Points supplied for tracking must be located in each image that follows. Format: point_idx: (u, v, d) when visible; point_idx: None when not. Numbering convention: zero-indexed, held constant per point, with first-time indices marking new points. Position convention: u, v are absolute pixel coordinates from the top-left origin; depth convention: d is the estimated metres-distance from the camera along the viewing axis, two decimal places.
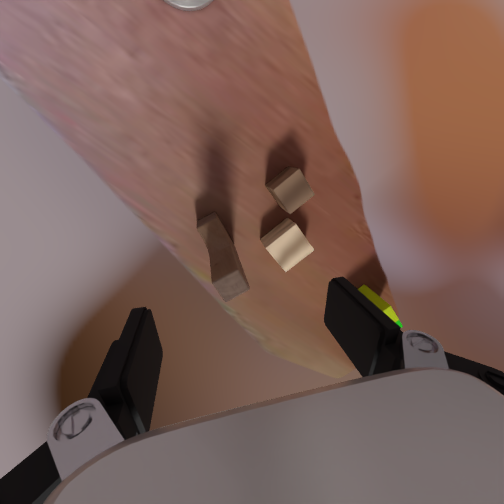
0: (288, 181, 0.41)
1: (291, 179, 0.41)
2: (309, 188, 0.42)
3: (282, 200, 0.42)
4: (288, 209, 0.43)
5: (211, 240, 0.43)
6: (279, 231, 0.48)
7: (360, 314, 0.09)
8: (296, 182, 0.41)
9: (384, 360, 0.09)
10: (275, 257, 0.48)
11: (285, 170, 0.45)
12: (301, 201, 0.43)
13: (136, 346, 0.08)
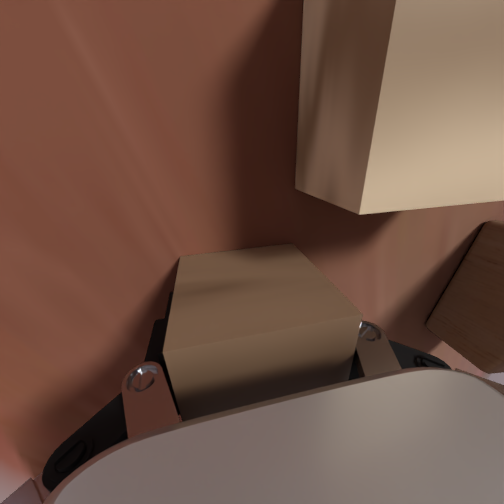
0: None
1: None
2: (183, 390, 0.07)
3: None
4: (350, 339, 0.07)
5: None
6: None
7: None
8: None
9: None
10: None
11: None
12: (266, 349, 0.07)
13: None
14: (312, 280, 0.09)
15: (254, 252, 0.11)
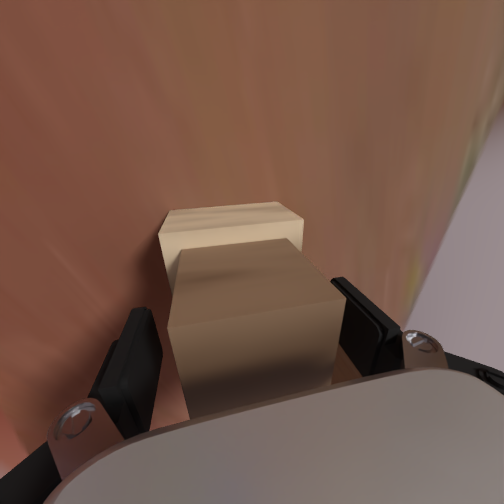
0: None
1: None
2: (185, 365, 0.07)
3: (328, 364, 0.09)
4: (335, 321, 0.08)
5: None
6: None
7: (360, 314, 0.09)
8: (233, 402, 0.09)
9: (384, 360, 0.09)
10: None
11: None
12: (259, 328, 0.08)
13: (136, 346, 0.08)
14: (303, 270, 0.10)
15: (250, 246, 0.12)
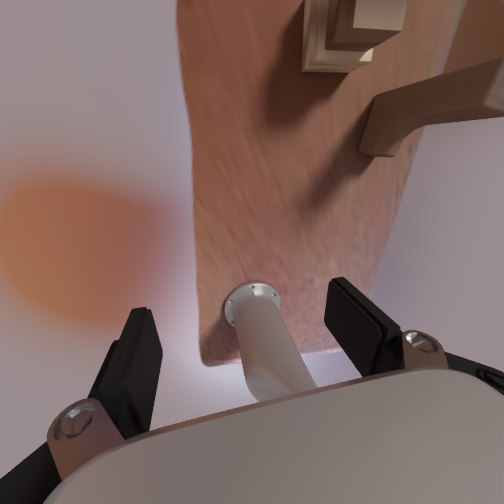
0: (378, 21, 0.24)
1: (372, 21, 0.24)
2: None
3: None
4: None
5: (402, 133, 0.35)
6: (332, 65, 0.32)
7: (360, 314, 0.09)
8: (370, 6, 0.23)
9: (384, 360, 0.09)
10: None
11: (337, 46, 0.28)
12: None
13: (136, 346, 0.08)
14: None
15: None
